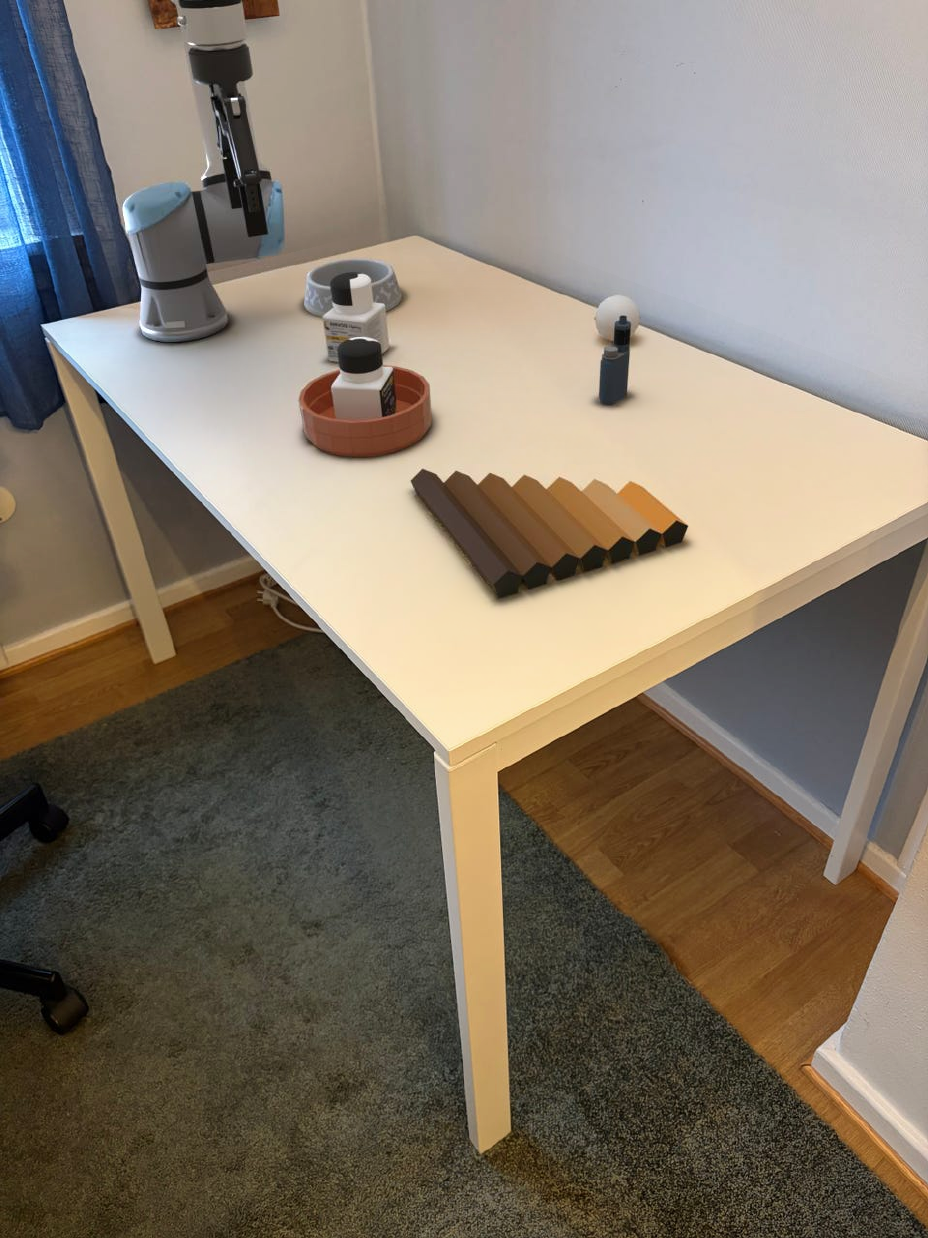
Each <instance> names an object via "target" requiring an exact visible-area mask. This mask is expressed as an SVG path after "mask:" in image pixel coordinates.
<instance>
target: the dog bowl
mask: <svg viewBox="0 0 928 1238" xmlns="http://www.w3.org/2000/svg"><path fill="white" fill-rule="evenodd" d="M348 272H358V273H362V274H365V275H367V276H369V278H370V279H371V285H372V294H373V303H383V304H385V310H386V312H389V311H391V310H392V309H394V308H395V307H397V306H398V305H399V304H400V303H401V302H402V300H403V293H402V291H401V288H400V285H399V283H398V278H397V275H396V272H395V269H394V267H393V266H392V265H391V264H389V263H387V262H386V261H383V260H380V259H374V258H366V257H365V258H364V257H355V258H343V259H337V260H333V261H328V262H325V263H323V264H320V265H318V266H316V267H314V268H313V269H311V270H310V271H308V273H307V275H306V281H305V292H304V300H303V301H304V303H303V305H304V308H305V309H306V311H308V312H309V313H310V314H312V315H314V316H317V317H320V318H323V315H324V314H326V313H327V312H328V311H330V310H331V309H332V308H334V307H333V303H332V296H331V289H330V282H331V280H332V279H333V278H334V277H336V276H338V275H340V274H343V273H348Z"/></svg>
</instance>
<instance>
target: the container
mask: <svg viewBox="0 0 928 1238" xmlns="http://www.w3.org/2000/svg"><path fill="white" fill-rule="evenodd" d="M330 289H331V296H332V303H333V307H334V308H332V309H331V310H330V311H328V312H327V313H326V314H324V315H323V317H322V323H323V330H324V331H323V332H324V338H325V346H326V350H327V352H326V353H327V359H328V361H329V362H335V363H339V361H338V353H337V348H338V346H339V345H340V343H342V342H343V341H345V340H348V339H350V338H354V337H368V338H372V339H375V340H377V341H378V342H379V343H380V344H381V351H382V355H383V354H384V353H385V352H386V351H387V350H389V349H390V340H389V330H388V320H387V311H386V310H385V304H383V303H373V294H372V285H371V279H370V278H369V276H367V275H365V274H362V273H358V272H348V273H343V274H340V275H338V276H336V277H334V278H333V279H332V280H331V282H330Z"/></svg>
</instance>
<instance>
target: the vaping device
mask: <svg viewBox="0 0 928 1238" xmlns="http://www.w3.org/2000/svg"><path fill="white" fill-rule="evenodd" d="M614 327H615V328H614V341H613V345H608V346H605V347H604V348H603V353H602V355H601V359H600V362H599V363H600V364H599V367H600V368H599V385H598V386H599V387H598V398H599V403H600V404H602V405H605V406H612V405H614V404H616V403H618V402H619V401H621V400H623V399H624V398H626V397H627V396H628V385H629V371H630V357H631V356H630V354H631V336H630V333H631V322H629V321H627V316H624V315H623V316H620V317H619V321H616V322H615V325H614Z"/></svg>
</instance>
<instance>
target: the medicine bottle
mask: <svg viewBox="0 0 928 1238" xmlns="http://www.w3.org/2000/svg"><path fill="white" fill-rule="evenodd" d="M337 353H338V361H339V362H338V367H339V369H340V374H339V376H338V377H337V379H336V380H335V382H334V383H333V384H332V386H331V389H332V396H333V403H334V410H335V417H336V419H342V420H368V419H375V418H380V417H385V416H390V415H393V414H395V413H397V404H396V394H395V383H394V373H393V368H392V367H383V365H384V361H383V354H382V351H381V344H380V343H379V342H378V341H377V340H375V339H372V338H368V337H354V338H350V339H348V340H345V341H343V342H342V343H340V345H339V346H338V348H337Z"/></svg>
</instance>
